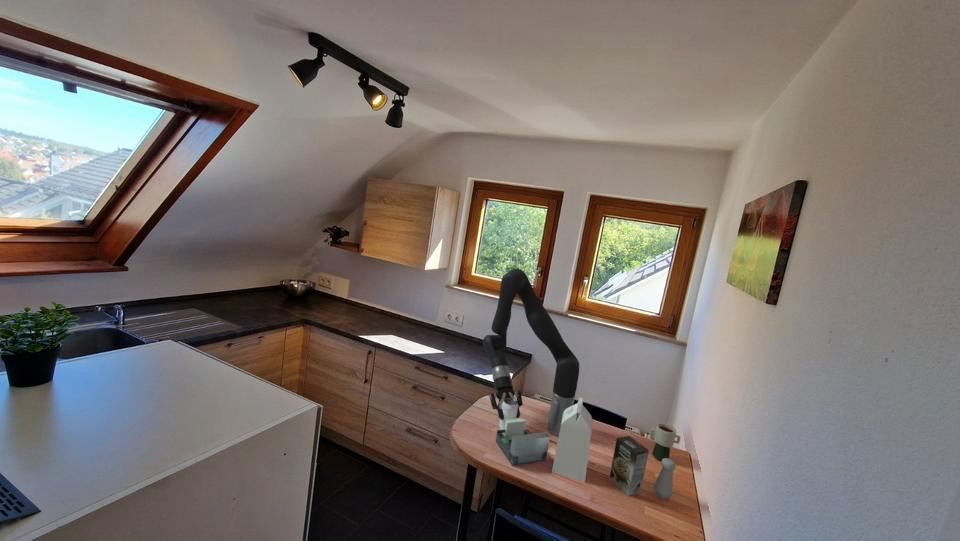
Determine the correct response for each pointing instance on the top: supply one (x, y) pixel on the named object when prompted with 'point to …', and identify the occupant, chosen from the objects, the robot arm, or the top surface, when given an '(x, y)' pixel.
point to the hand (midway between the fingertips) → (510, 418)
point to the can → (508, 411)
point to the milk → (573, 443)
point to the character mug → (663, 440)
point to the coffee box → (628, 465)
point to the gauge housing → (524, 447)
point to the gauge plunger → (513, 428)
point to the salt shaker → (665, 479)
